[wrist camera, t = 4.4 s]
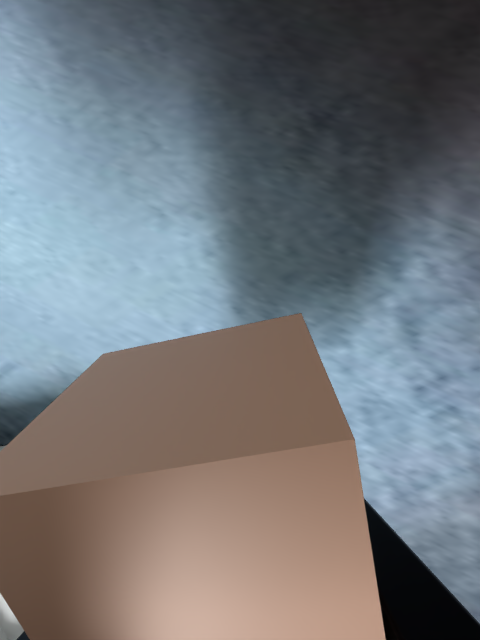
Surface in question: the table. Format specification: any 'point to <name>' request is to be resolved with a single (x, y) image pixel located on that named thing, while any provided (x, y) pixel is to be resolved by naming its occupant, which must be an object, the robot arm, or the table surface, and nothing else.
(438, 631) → the robot arm
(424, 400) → the table surface
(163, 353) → the block
